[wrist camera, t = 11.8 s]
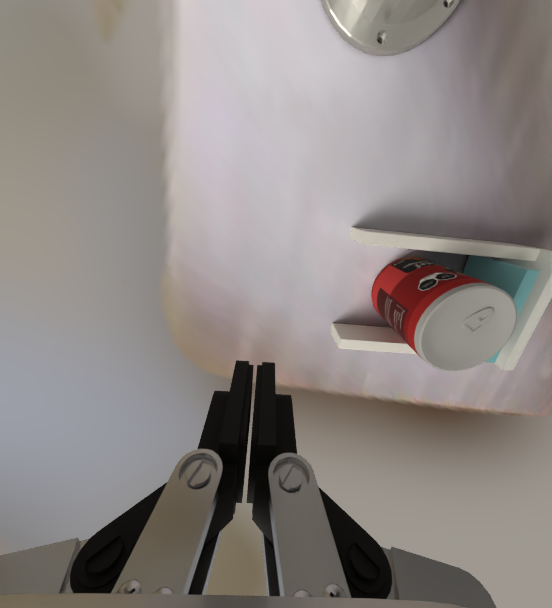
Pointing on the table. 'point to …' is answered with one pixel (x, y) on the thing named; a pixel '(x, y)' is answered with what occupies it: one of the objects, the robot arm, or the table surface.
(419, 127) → the table surface
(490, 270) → the pusher
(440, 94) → the table surface
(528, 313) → the lane
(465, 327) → the canned food
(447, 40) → the table surface
